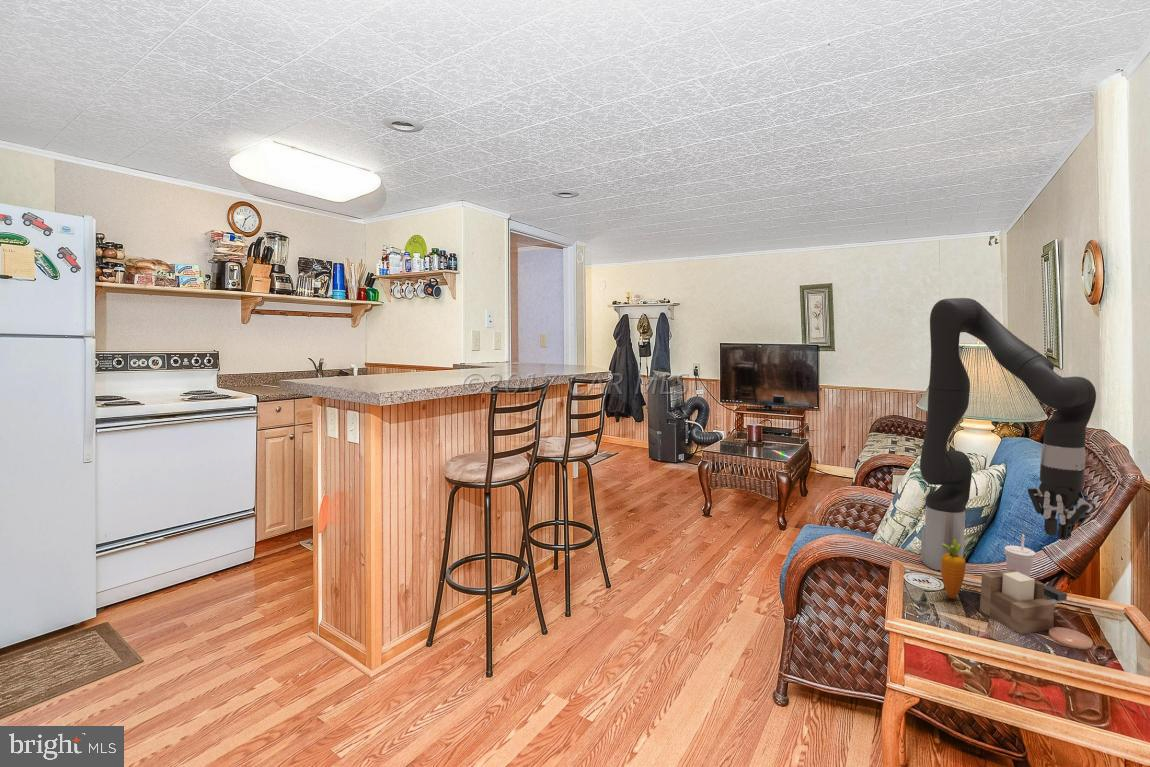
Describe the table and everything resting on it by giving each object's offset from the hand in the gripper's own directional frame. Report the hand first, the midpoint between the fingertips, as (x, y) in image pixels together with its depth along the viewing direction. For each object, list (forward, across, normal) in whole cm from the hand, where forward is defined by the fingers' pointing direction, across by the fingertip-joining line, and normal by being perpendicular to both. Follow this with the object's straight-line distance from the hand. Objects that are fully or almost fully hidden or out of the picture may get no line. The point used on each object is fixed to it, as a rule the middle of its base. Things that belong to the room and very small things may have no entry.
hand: (1057, 536), depth 124 cm
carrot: (+19, -11, -16) cm, 28 cm away
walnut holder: (+19, 0, -9) cm, 21 cm away
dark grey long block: (+15, 0, -6) cm, 16 cm away
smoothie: (+19, -13, +6) cm, 24 cm away
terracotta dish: (+19, +9, -6) cm, 22 cm away
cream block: (+15, 0, -10) cm, 18 cm away
